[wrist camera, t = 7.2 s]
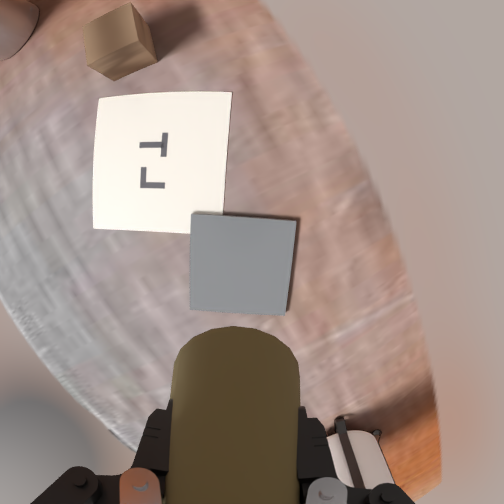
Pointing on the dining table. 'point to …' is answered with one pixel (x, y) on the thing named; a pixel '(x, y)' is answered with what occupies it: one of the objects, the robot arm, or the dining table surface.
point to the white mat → (159, 159)
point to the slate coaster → (240, 263)
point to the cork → (234, 420)
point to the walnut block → (119, 43)
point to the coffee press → (358, 457)
